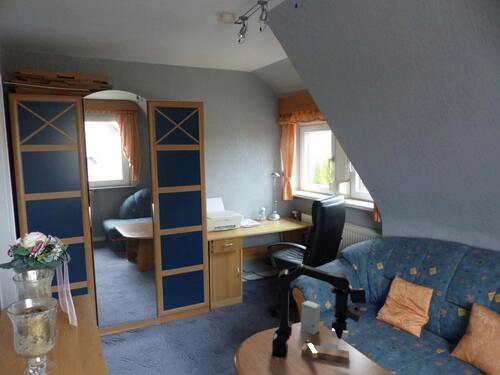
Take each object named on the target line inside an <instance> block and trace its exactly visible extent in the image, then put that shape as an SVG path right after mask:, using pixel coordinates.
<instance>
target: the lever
mask: <svg viewBox="0 0 500 375" xmlns="http://www.w3.org/2000/svg"><path fill="white" fill-rule="evenodd" d="M304 342H305V344H306V347H307V349H308V350H309V352H310V354H311V355H312V357H311V358H313V359H318V358H317V351H316V350H315V348H314V347H313V345H314V344H312V343H311V342H312V340H311V339H310V338H306V339H304Z"/></svg>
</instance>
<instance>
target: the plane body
mask: <svg viewBox="0 0 500 375" xmlns="http://www.w3.org/2000/svg"><path fill="white" fill-rule="evenodd" d="M312 345H313V347H314V348H315V350H316V351H317V358H316V359H320V360H324V361H331V362H336V363H341V364H346V365H349V359H350V350H344V349H338V348H337V349H334V348H328V347H322V346H320V345H315V344H312ZM300 353H301V356H303V357H309V358H313V357H312V355H311V354H310V352H309V350H308V349H307V347H306V342H305V343H303V344H302V347H301V352H300Z"/></svg>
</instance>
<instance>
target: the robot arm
mask: <svg viewBox="0 0 500 375" xmlns="http://www.w3.org/2000/svg"><path fill="white" fill-rule="evenodd" d="M301 276H305V277H309V278H312V279H315V280H318V281H321V282H326V283H327V284H330V285H331V286H332V288H330V293H331V294H334V307H333V308H334V313H333V318H334V319H333V320H332V321H331V322H332V323H331V329H332V328H333V329H334V330H335V332H336V335H337V337H338V338H337V337H336V338H337V339H338V340H341V339H342V338H341V337H342V333H343V330H347V326H348V322H347V321H346V320H348V319H350V320H352V321H353V322H355V323H359V321H360V319H361V316H362V312H361V310H360V309H359V306H358V305H366V304H367V298H366V297H367V296H366V288H363V287H362V288H361V287H360V288H359V287H358V288H356V287H352V284H351V283H350V282H349V277H348V275H346V274H345V273H344V272H334V271H333V272H329V271H326V270H321V269H320V268H316V267H313V266H309V265H306V264H305V263H299V264H298V265H295V266H291V267H290V268H287V269H286V268H285V269H282V270H280V271H279V275H278V278H277V281H278V286H279V290H280V307H279V308H280V310H279V311H280V313H279V315H280V317H279V319H280V320H279V324H278V328H277V329H276V330H275V331H274V332H273V336H272V342H271V343H272V344H271V345H272V347H271V349H272V350H271V354H270V356H272V357H278V358H281V359H282V358H283V359H285V358H286V356H287V355H288V352H289V344H288V341H289V339H290V337H292V334H293V333H292V332H293V328H292V326H293V321H290V319H289V313H290V312H289V309H290V306H289V304H290V288H291V285H292V284H291V283H292V282H294V281H295V280H297V279H298V278H299V277H301ZM349 301H350V302H351V304H355V306H353V307H350V304H349Z"/></svg>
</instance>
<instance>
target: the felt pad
mask: <svg viewBox="0 0 500 375" xmlns="http://www.w3.org/2000/svg"><path fill="white" fill-rule="evenodd" d="M319 346H322V347H328V348H334V349H338V344H335V343H330V342H322V341H320V344H319Z"/></svg>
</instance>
